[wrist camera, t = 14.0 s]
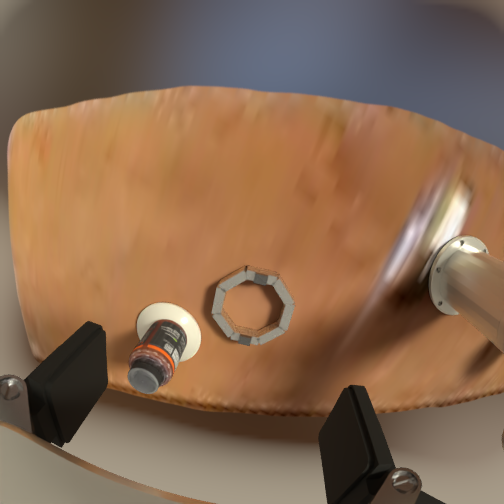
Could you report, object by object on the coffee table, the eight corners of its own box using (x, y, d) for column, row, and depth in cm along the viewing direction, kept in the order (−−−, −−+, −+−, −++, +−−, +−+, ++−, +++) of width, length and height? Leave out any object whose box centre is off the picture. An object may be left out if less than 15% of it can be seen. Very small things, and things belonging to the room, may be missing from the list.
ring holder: (300, 277, 38) (302, 284, 36) (280, 342, 41) (280, 352, 39) (223, 259, 38) (220, 265, 36) (210, 326, 41) (206, 335, 38)
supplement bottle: (147, 344, 42) (117, 388, 31) (153, 311, 40) (120, 353, 29) (184, 357, 42) (162, 406, 31) (192, 325, 40) (169, 372, 29)
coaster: (206, 312, 40) (205, 314, 40) (196, 366, 43) (195, 369, 42) (140, 294, 40) (138, 295, 40) (137, 349, 43) (135, 351, 42)
